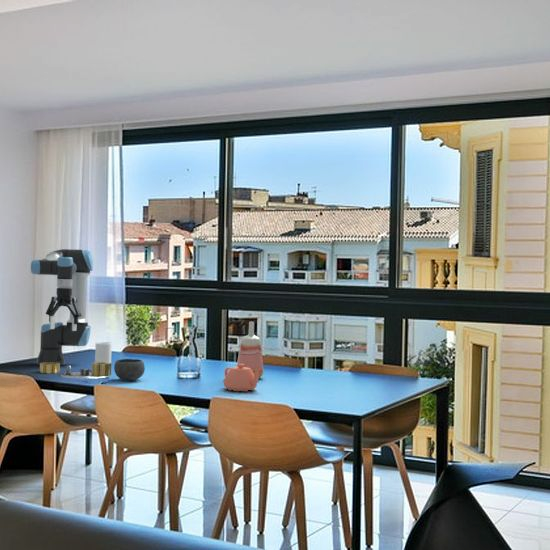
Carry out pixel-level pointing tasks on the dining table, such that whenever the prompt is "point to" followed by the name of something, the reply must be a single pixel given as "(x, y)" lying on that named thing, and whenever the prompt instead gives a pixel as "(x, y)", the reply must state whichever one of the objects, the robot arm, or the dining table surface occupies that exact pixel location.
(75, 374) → the carrier
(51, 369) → the gear
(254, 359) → the pink squeeze bottle
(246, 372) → the teapot
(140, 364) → the bowl
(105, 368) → the seated gear
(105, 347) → the cup
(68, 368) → the pin
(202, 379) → the dining table surface
